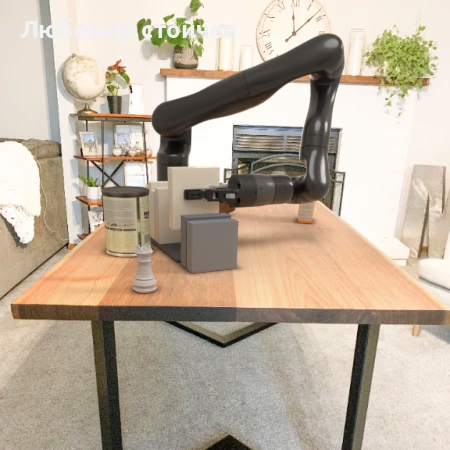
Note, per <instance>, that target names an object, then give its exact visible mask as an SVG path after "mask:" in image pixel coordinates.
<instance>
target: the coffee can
mask: <svg viewBox="0 0 450 450" xmlns="http://www.w3.org/2000/svg"><path fill="white" fill-rule="evenodd" d="M101 195H102V196H101V197H102V209H103V223H104V235H105V236H104V237H105V249H106V250H105V253H106V254H108V255H110V256H114V257H118V258H119V257H120V258H133V257H134V258H135V257H137V255H136V254H135V252H134V251H135V249H136V246H137V245H140V247H141V244H144V247H146V244H148V245H151V243H152V242H151V241H150V212H149V189H148V187H144V186H138V185H137V186H135V185H115V186H106V187H103V188H101ZM151 246H152V245H151Z"/></svg>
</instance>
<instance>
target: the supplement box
mask: <svg viewBox="0 0 450 450" xmlns="http://www.w3.org/2000/svg"><path fill="white" fill-rule="evenodd" d="M315 203H316V201H314V202H310V203H305V204H298V211H297V212H298V213H297V223H300V224H301V223H302V224H312V223H313V219H314V212H315Z"/></svg>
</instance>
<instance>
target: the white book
mask: <svg viewBox="0 0 450 450" xmlns="http://www.w3.org/2000/svg"><path fill="white" fill-rule="evenodd" d="M220 179H221V167H220V166H216V165H204V166H202V165H200V166H189V167H168V208H169V227H170V228H171V229H173V230H179V229H181V215H192V214H211V213H219V202H212V201H211V202H209V201H207V200H205V201H203V200H185V199H184V190H185V189H202V188H209V187H210V186H212V185H220V182H221V181H220ZM216 199H218V198H216Z"/></svg>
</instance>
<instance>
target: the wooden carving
mask: <svg viewBox="0 0 450 450" xmlns="http://www.w3.org/2000/svg"><path fill="white" fill-rule="evenodd" d="M236 209H237V208H234V207H232V206H231V205H230V203H229V202H219V213H226V214H230V213H232V212H235V211H236Z"/></svg>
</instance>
